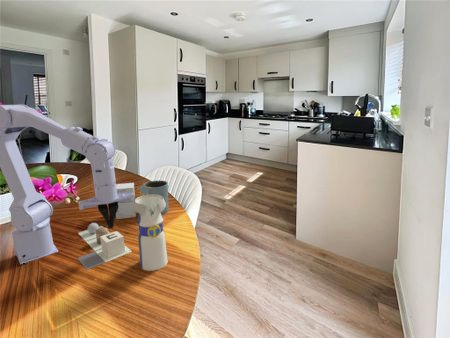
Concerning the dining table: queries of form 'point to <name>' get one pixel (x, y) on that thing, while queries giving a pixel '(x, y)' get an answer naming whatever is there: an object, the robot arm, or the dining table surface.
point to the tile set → (99, 245)
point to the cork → (100, 234)
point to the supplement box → (126, 206)
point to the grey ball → (93, 227)
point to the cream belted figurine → (151, 230)
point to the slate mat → (91, 260)
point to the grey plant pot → (159, 191)
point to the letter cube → (112, 244)
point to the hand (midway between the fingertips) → (110, 227)
